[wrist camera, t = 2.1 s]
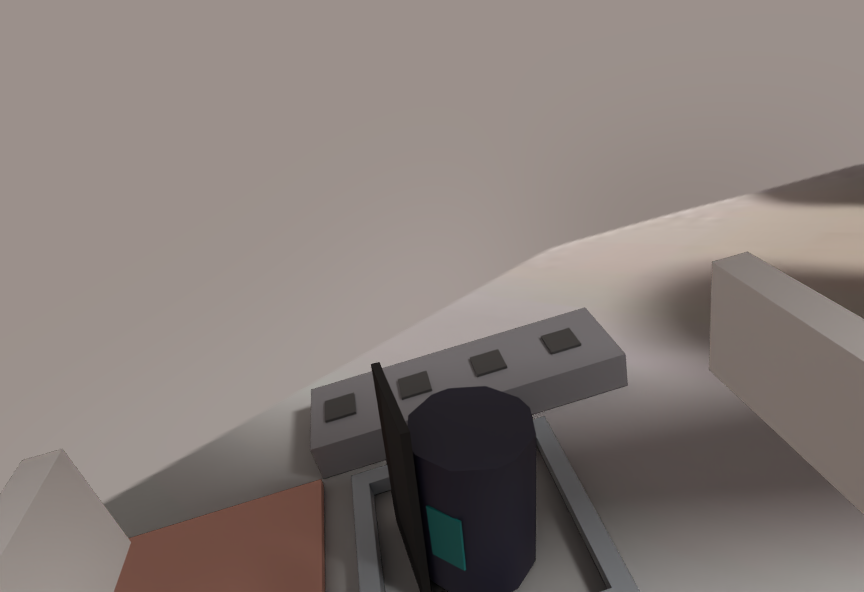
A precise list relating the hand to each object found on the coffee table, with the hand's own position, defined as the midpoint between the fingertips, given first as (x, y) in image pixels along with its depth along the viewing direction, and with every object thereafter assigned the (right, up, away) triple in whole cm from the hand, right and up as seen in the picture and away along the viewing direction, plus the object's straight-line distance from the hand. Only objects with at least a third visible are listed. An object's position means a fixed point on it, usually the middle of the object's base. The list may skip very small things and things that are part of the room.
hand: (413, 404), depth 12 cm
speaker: (+3, -10, +18) cm, 21 cm away
